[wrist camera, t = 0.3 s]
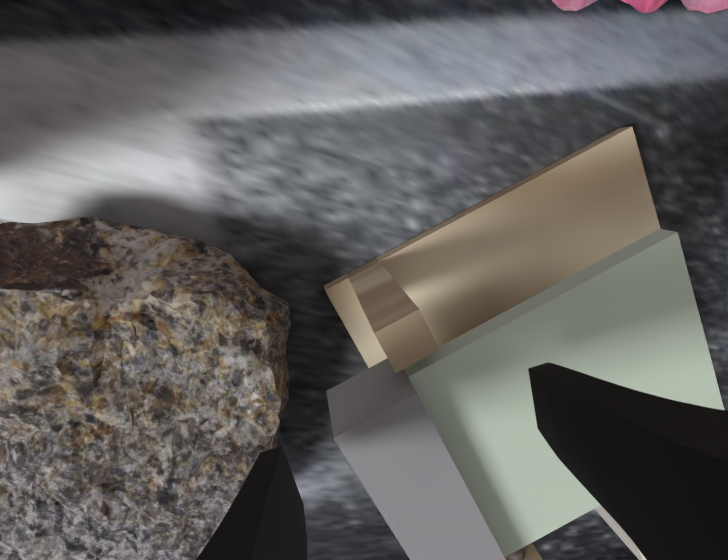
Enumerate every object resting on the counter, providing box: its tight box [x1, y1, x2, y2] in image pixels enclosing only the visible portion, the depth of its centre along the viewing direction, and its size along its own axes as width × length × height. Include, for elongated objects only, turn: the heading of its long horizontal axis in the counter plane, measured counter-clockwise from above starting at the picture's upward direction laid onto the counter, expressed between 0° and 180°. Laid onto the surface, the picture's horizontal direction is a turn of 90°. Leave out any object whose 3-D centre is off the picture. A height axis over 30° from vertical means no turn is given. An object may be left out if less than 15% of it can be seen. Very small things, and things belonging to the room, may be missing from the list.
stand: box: [324, 127, 660, 560], centre depth 20 cm, size 14×16×8 cm
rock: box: [0, 217, 291, 560], centre depth 18 cm, size 13×6×15 cm
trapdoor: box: [326, 229, 724, 560], centre depth 17 cm, size 9×14×3 cm
